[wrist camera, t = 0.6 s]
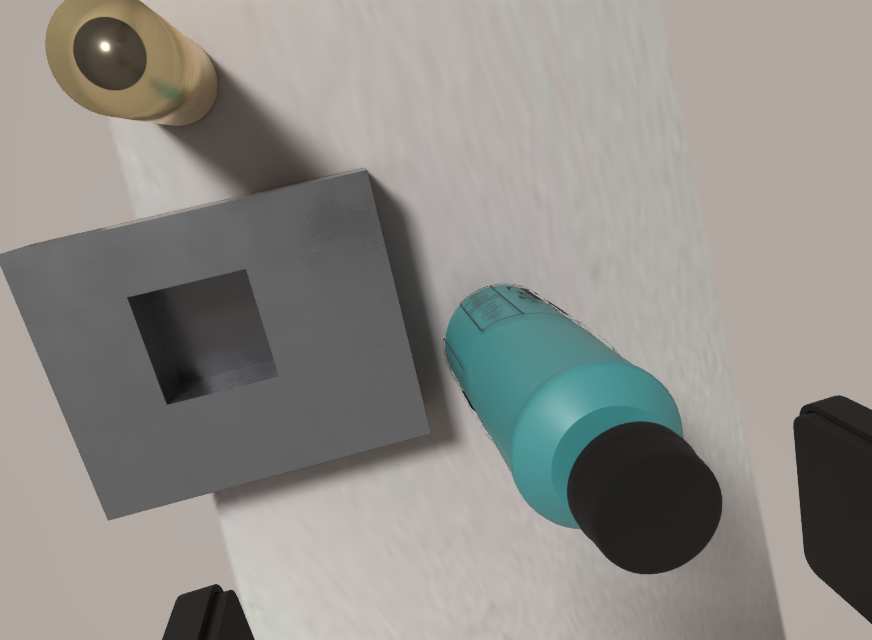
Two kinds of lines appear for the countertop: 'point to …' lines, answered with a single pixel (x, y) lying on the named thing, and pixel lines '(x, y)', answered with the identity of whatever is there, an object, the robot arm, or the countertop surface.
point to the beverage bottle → (583, 430)
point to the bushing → (129, 62)
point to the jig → (222, 341)
